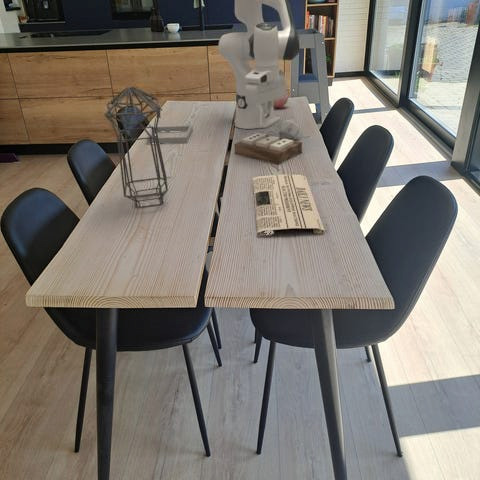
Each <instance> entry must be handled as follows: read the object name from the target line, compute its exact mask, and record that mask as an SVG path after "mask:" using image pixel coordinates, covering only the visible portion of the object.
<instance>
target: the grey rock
mask: <svg viewBox="0 0 480 480" xmlns="http://www.w3.org/2000/svg"><path fill="white" fill-rule="evenodd" d="M300 130H301V127H300V126H299V125H298V123H296V121H295V120H294V119H292V118H291V119H286V120H281V121H280V124H279V126H278V130H277V131H276V133H277V134H278V135H279V136H280V138H282V139H289V140H293V141H296V139H297V136H298V135H299V132H300Z"/></svg>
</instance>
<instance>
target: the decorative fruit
mask: <svg viewBox="0 0 480 480" xmlns="http://www.w3.org/2000/svg"><path fill="white" fill-rule="evenodd" d="M288 100H289V95H288V93H286V95H285V96H283V97H280V98H277V99H274V103H273V106H274V107H276V108H278V109H280V108H282V107H284V106H285V105H286V104H287V103H288Z"/></svg>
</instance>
